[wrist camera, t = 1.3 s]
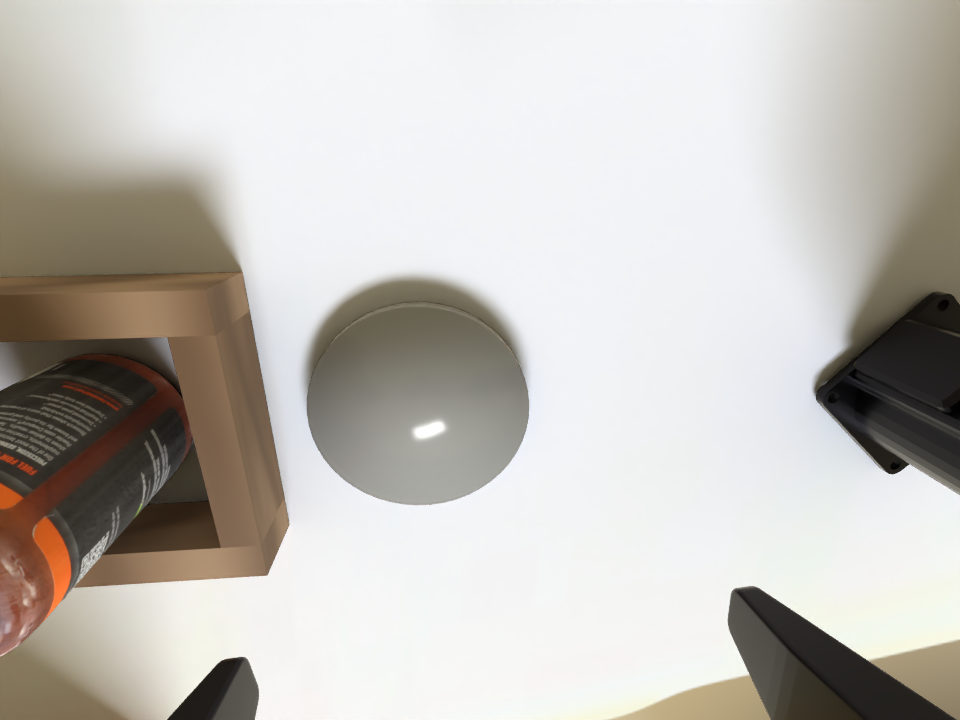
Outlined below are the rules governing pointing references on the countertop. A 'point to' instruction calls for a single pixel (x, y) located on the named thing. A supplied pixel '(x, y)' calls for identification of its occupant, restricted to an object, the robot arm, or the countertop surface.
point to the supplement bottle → (77, 474)
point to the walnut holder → (209, 405)
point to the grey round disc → (418, 403)
